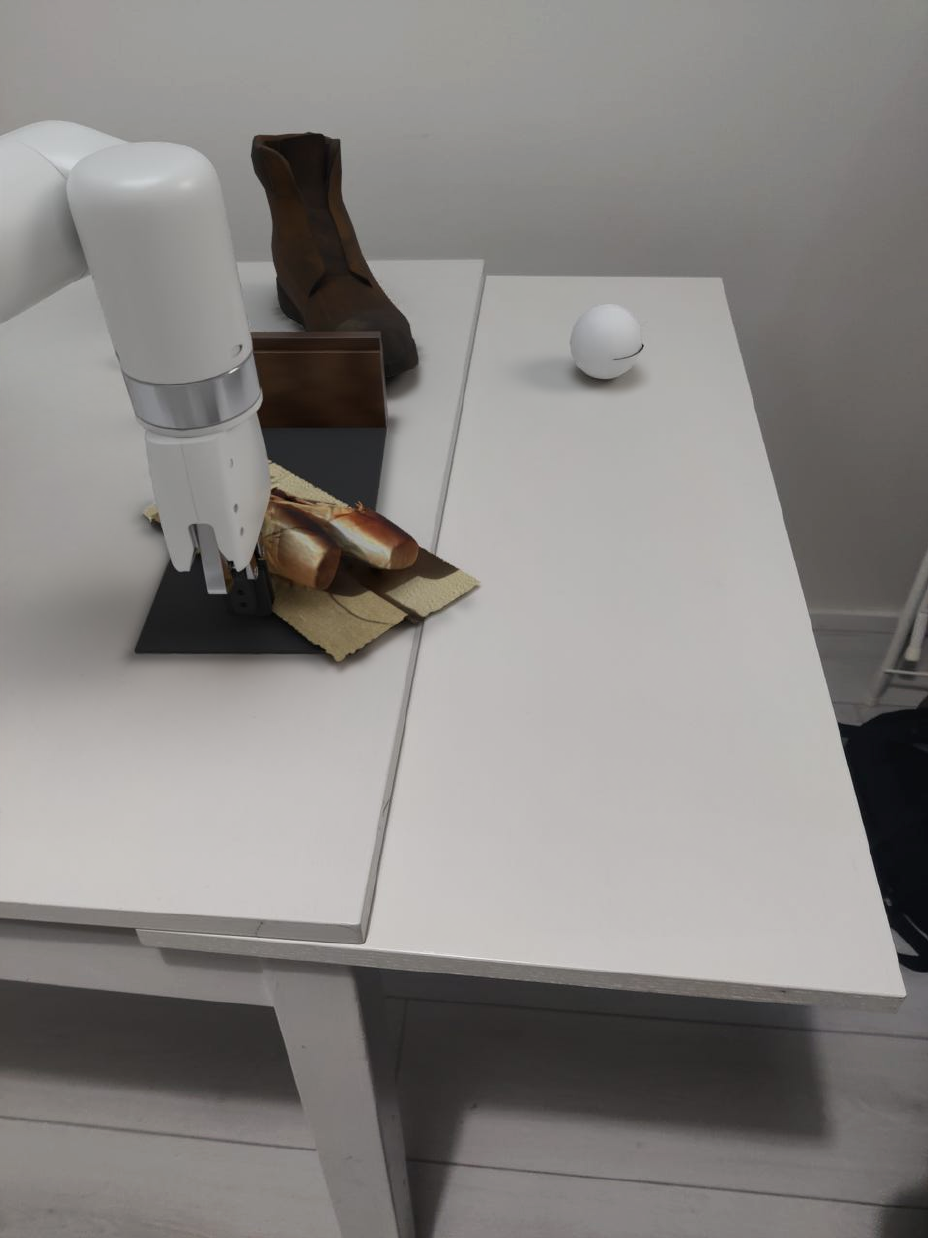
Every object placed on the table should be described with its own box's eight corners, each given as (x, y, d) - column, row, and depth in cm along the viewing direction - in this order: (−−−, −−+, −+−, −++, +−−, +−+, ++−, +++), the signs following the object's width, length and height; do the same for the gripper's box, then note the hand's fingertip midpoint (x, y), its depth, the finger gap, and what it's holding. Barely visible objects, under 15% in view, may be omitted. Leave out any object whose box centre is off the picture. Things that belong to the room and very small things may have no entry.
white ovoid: (595, 400, 88) (602, 330, 83) (553, 368, 92) (558, 301, 87) (673, 374, 91) (684, 306, 86) (629, 345, 96) (637, 279, 91)
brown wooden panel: (221, 429, 85) (200, 339, 78) (225, 418, 86) (205, 329, 80) (386, 428, 84) (379, 339, 78) (388, 417, 86) (381, 329, 79)
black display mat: (135, 653, 63) (134, 650, 63) (221, 430, 84) (220, 427, 84) (355, 653, 63) (355, 650, 63) (386, 430, 84) (386, 427, 84)
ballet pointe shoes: (346, 618, 56) (101, 459, 69) (358, 684, 61) (126, 524, 74) (482, 513, 63) (236, 387, 76) (483, 580, 68) (251, 450, 81)
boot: (350, 411, 87) (326, 201, 73) (257, 296, 106) (223, 112, 92) (449, 384, 90) (444, 179, 76) (341, 277, 109) (322, 97, 95)
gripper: (165, 324, 57) (223, 543, 70) (89, 453, 46) (175, 684, 59) (279, 324, 57) (317, 543, 70) (230, 453, 46) (285, 685, 59)
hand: (252, 607), depth 64 cm, fingers closed
